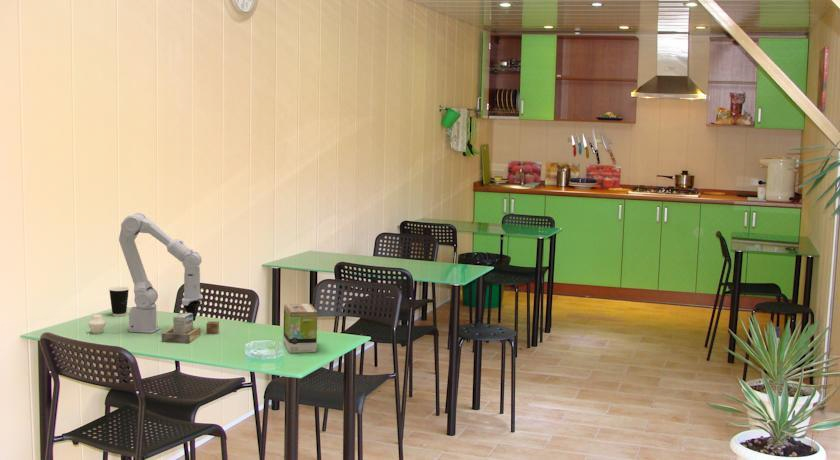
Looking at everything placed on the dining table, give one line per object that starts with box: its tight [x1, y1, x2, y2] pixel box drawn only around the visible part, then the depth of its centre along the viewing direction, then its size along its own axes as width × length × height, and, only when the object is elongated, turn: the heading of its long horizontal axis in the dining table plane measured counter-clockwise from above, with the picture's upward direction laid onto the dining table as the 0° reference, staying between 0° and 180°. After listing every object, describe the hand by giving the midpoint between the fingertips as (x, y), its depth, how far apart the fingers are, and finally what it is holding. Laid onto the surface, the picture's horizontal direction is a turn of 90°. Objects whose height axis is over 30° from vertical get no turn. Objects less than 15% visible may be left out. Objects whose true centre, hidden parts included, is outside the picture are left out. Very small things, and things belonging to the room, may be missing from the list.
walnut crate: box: [205, 320, 220, 335], centre depth 341 cm, size 4×4×4 cm
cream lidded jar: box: [88, 313, 107, 335], centre depth 336 cm, size 6×6×7 cm
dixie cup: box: [108, 286, 130, 317], centre depth 366 cm, size 8×8×11 cm
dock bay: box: [161, 326, 201, 344], centre depth 331 cm, size 10×12×3 cm
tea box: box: [282, 303, 318, 354], centre depth 321 cm, size 15×10×15 cm, turn 17°
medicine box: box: [172, 312, 194, 334], centre depth 331 cm, size 8×4×9 cm, turn 172°
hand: (191, 320), depth 341 cm, fingers closed
